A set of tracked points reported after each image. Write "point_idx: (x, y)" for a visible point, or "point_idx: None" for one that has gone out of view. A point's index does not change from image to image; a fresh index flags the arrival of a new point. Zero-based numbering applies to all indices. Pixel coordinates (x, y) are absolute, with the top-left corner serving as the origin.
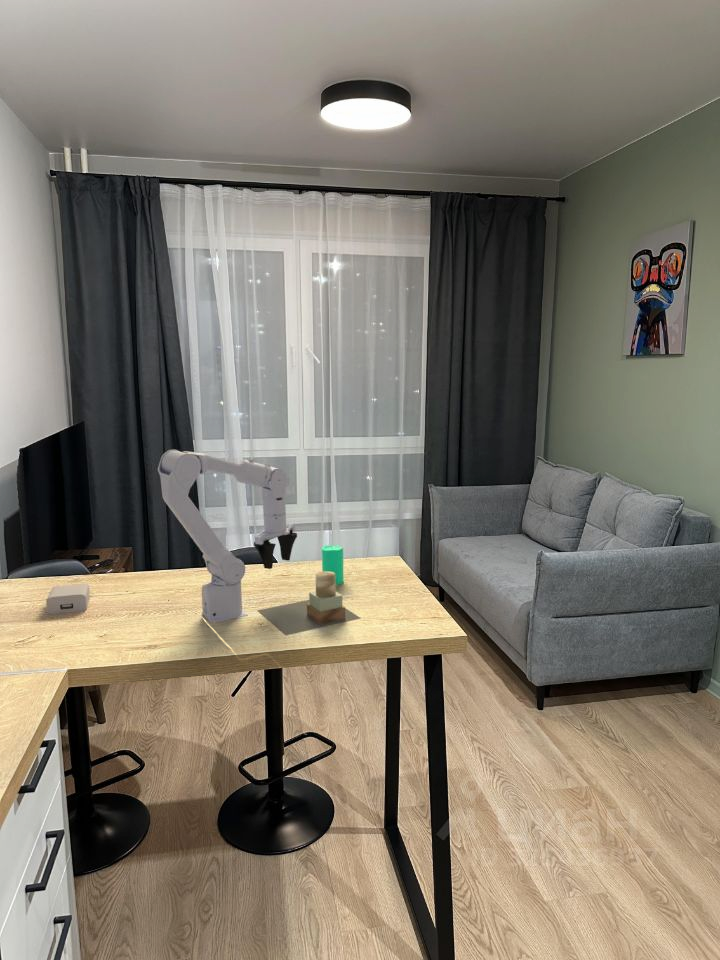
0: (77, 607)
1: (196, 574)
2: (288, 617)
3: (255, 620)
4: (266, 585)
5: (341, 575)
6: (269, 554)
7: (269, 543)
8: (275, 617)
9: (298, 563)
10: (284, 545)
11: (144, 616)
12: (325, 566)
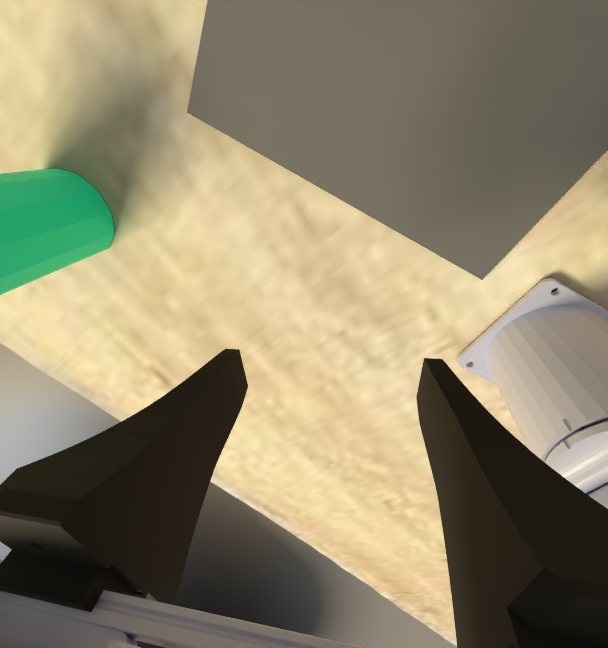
0: None
1: (296, 512)
2: (536, 76)
3: (579, 225)
4: (250, 379)
5: (17, 172)
6: (544, 463)
7: (555, 631)
8: (551, 147)
9: (83, 391)
10: (195, 457)
11: None
12: (41, 244)
